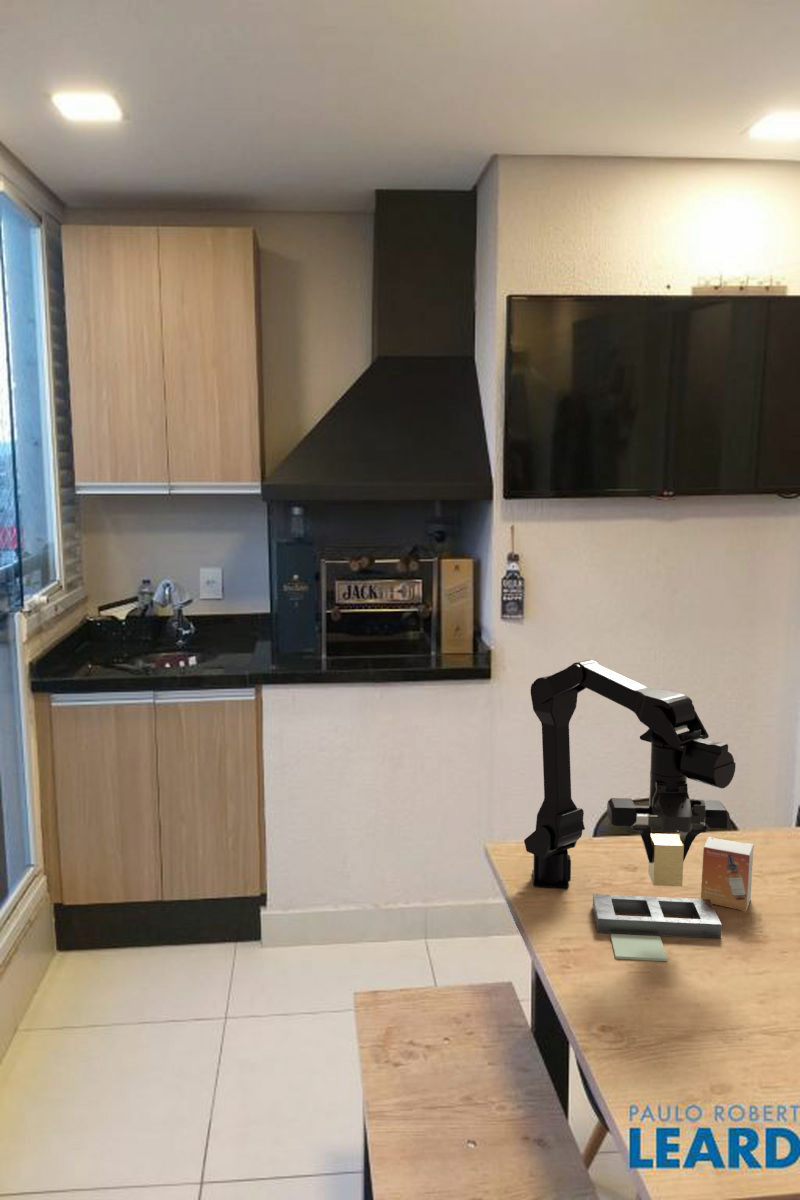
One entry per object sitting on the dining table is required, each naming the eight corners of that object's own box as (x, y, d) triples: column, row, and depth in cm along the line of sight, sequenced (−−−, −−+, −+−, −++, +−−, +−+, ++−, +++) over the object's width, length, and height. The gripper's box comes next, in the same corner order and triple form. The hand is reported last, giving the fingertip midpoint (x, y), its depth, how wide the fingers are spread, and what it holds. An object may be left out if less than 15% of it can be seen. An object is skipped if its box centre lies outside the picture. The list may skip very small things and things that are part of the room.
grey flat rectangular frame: (597, 932, 151) (598, 918, 151) (592, 907, 160) (593, 894, 160) (721, 938, 149) (721, 924, 149) (709, 912, 158) (709, 899, 158)
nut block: (653, 885, 148) (654, 844, 147) (648, 873, 152) (649, 833, 151) (682, 886, 147) (683, 845, 146) (676, 874, 152) (677, 834, 151)
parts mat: (615, 958, 143) (615, 956, 143) (610, 936, 150) (610, 934, 150) (667, 961, 142) (667, 958, 142) (659, 938, 149) (660, 936, 149)
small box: (699, 902, 162) (702, 846, 160) (705, 889, 167) (707, 835, 165) (747, 912, 158) (750, 855, 157) (751, 898, 163) (754, 843, 162)
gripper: (617, 787, 140) (615, 882, 142) (741, 789, 138) (737, 886, 141) (607, 764, 151) (605, 853, 153) (722, 766, 149) (718, 856, 152)
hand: (665, 862), depth 149 cm, fingers closed on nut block, 5 cm apart
